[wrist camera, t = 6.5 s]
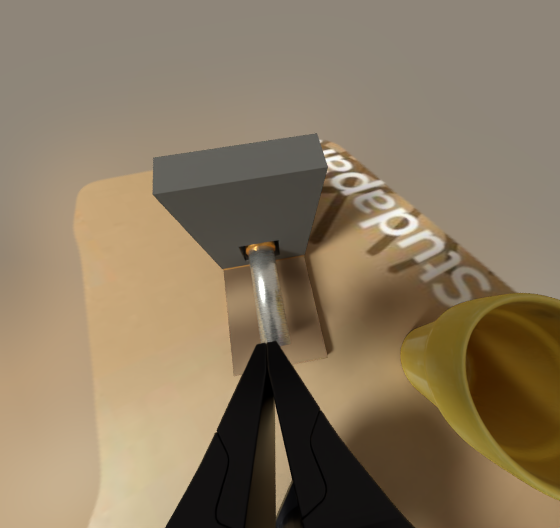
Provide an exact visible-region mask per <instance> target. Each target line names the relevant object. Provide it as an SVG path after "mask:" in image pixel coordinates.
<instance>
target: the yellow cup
mask: <svg viewBox="0 0 560 528" xmlns="http://www.w3.org/2000/svg"><path fill="white" fill-rule="evenodd" d="M401 364H402V367H403V370H404V373H405V375H406V377H407V378H408V380H409V381H410V383H411V384H412V385H413V386H414V387H415V388H416V389H417V390H418V391H419V392H420V393H421V394H422V395H424V396H425V397H426V398H427V399H428V400H430V401H431V402H432V403H433V404H434V405H435V406H437V407H438V408H439V410H440V412H441V413H442V415H443V416H444V418H445V419H446V421H447V422H448V423H449V425H450V426H451V427H452V428H453V429H454V430H455V432H456V433H457V434H458V435H459V436H460V437H461V438H462V439H463V440H465V441H466V442H467V443H468V444H469V445H470V446H472V447H473V448H474V449H475V450H477V451H478V452H480V453H481V454H482V455H484V456H485V457H486V458H488V459H489V460H491V461H492V462H494V463H495V464H497V465H498V466H500V467H501V468H503V469H504V470H506V471H507V472H509V473H511V474H512V475H514V476H515V477H517V478H518V479H520V480H522V481H523V482H525V483H526V484H528V485H530V486H531V487H533V488H535V489H537V490H538V491H540V492H542V493H544V494H546V495H548V496H550V497H552V498H554V499H556V500H559V501H560V300H558V299H555V298H552V297H547V296H543V295H538V294H530V293H513V294H504V295H497V296H490V297H485V298H479V299H475V300H471V301H466V302H463V303H460V304H457V305H455V306H453V307H451V308H450V309H448V310H447V311H445V312H444V313H443V314H442V315H441V316H440V317H439V318H438V319H437V320H436V321H434V322H432V323H429V324H427V325H424V326H421V327H419V328H416V329H414V330H413V331H411V332H410V333H409V334H408V335H407V336H406V338H405V339H404V342H403V344H402V347H401Z"/></svg>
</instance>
